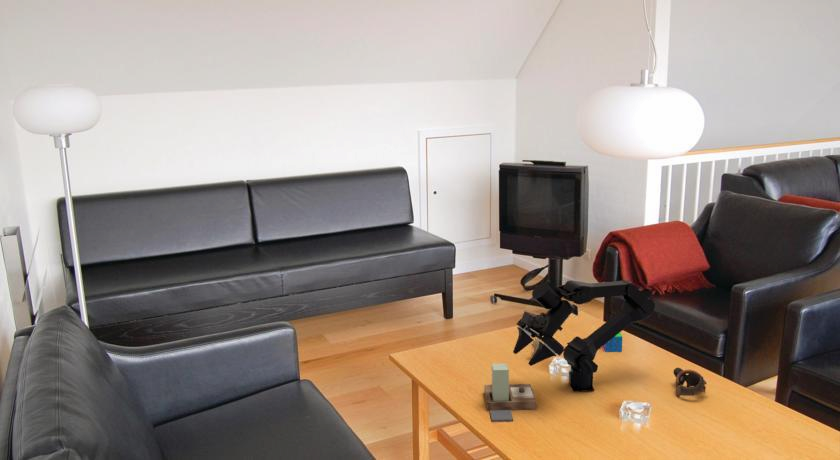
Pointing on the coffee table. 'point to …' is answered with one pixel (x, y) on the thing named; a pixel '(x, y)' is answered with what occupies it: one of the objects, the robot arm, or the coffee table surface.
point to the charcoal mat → (501, 415)
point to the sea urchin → (535, 345)
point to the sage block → (500, 382)
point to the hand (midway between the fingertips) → (521, 358)
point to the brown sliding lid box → (512, 398)
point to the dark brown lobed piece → (688, 382)
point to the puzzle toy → (614, 344)
